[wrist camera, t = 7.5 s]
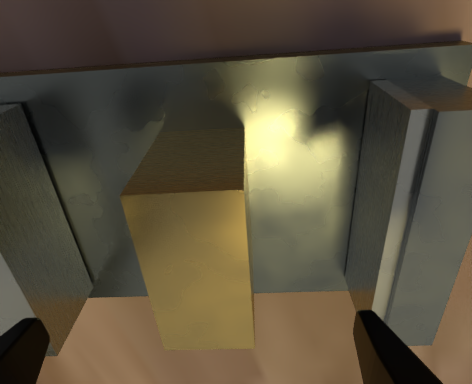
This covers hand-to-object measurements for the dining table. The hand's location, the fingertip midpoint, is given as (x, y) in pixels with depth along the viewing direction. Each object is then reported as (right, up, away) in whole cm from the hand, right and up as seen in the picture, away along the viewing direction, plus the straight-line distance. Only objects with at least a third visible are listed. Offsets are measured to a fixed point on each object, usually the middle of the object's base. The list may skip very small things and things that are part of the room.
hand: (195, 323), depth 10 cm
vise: (-3, +4, +7) cm, 9 cm away
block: (0, +3, +6) cm, 7 cm away
